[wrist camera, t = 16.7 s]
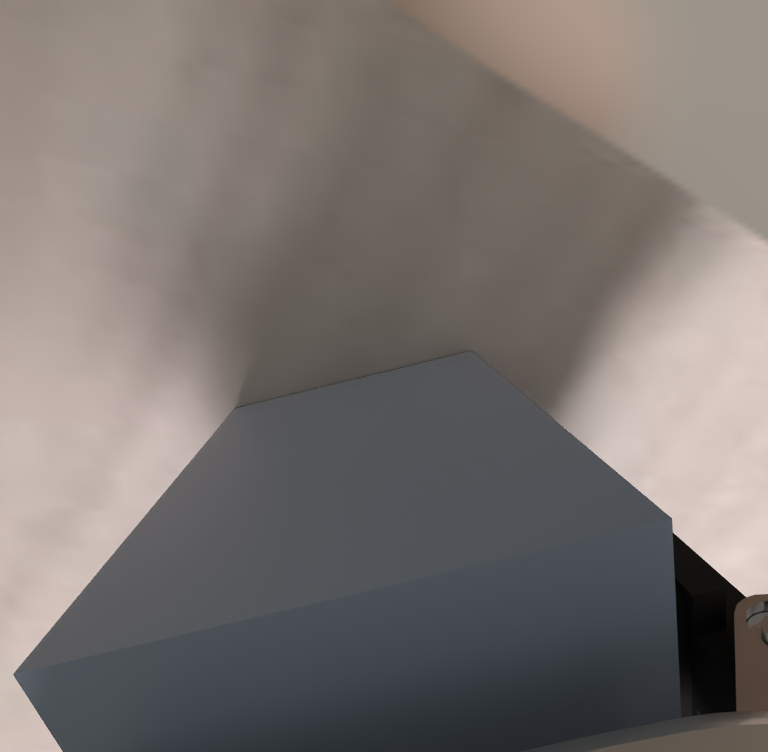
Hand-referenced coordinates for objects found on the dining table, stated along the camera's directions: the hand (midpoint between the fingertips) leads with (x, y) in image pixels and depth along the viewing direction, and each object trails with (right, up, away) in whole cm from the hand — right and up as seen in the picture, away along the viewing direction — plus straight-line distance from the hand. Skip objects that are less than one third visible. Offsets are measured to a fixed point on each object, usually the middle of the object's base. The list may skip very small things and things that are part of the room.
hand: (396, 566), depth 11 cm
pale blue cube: (0, +1, +4) cm, 4 cm away
